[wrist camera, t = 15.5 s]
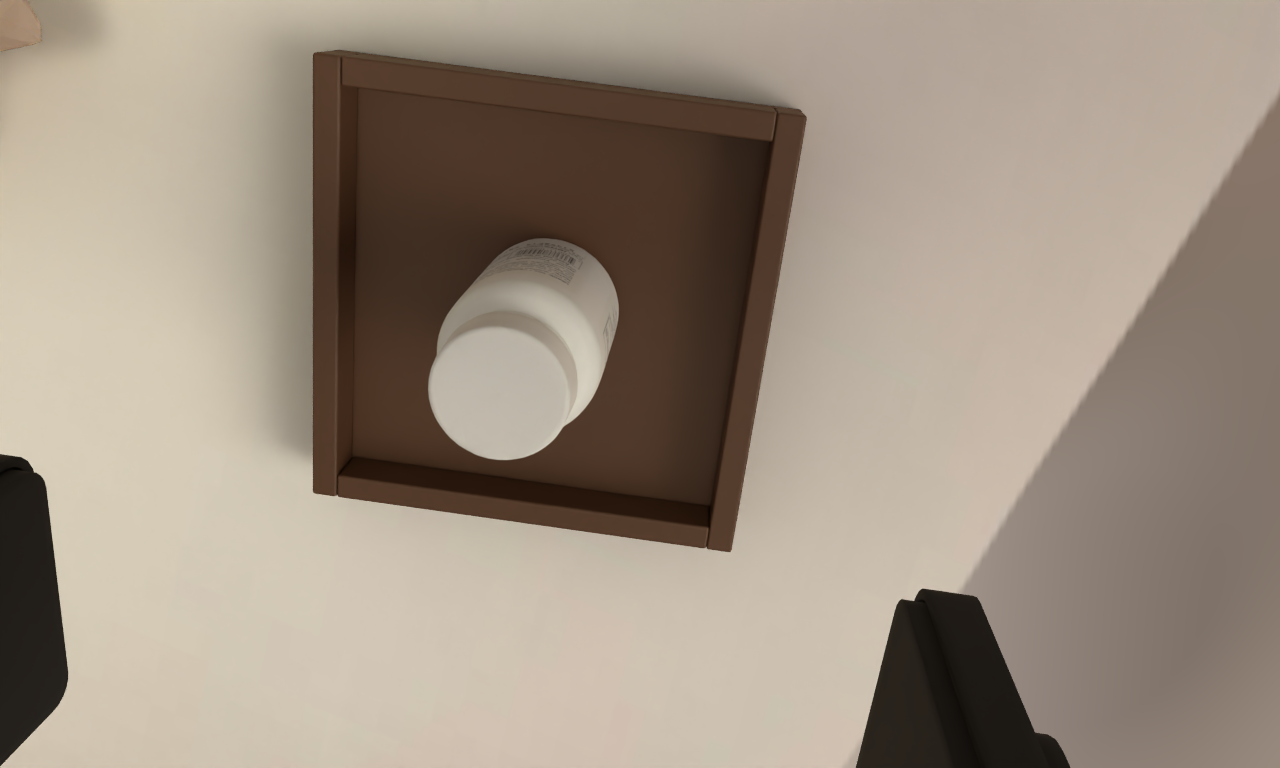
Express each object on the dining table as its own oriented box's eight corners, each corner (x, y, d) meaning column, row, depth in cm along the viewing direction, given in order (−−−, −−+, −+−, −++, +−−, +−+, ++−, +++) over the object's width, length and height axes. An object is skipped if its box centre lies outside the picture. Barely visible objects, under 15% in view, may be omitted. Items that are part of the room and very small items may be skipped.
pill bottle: (450, 286, 30) (368, 370, 23) (564, 207, 29) (515, 271, 22) (534, 397, 32) (481, 511, 24) (647, 325, 30) (626, 422, 23)
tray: (801, 109, 28) (807, 116, 26) (730, 523, 33) (731, 553, 31) (337, 49, 29) (311, 51, 27) (334, 467, 34) (312, 494, 32)
